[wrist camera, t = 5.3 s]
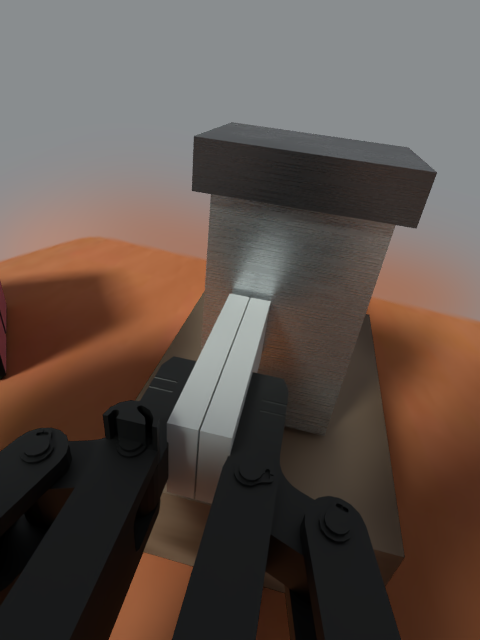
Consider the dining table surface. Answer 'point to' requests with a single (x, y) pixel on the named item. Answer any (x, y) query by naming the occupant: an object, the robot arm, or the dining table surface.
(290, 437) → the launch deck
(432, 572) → the dining table surface
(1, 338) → the puzzle cube
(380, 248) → the grey block with cap
